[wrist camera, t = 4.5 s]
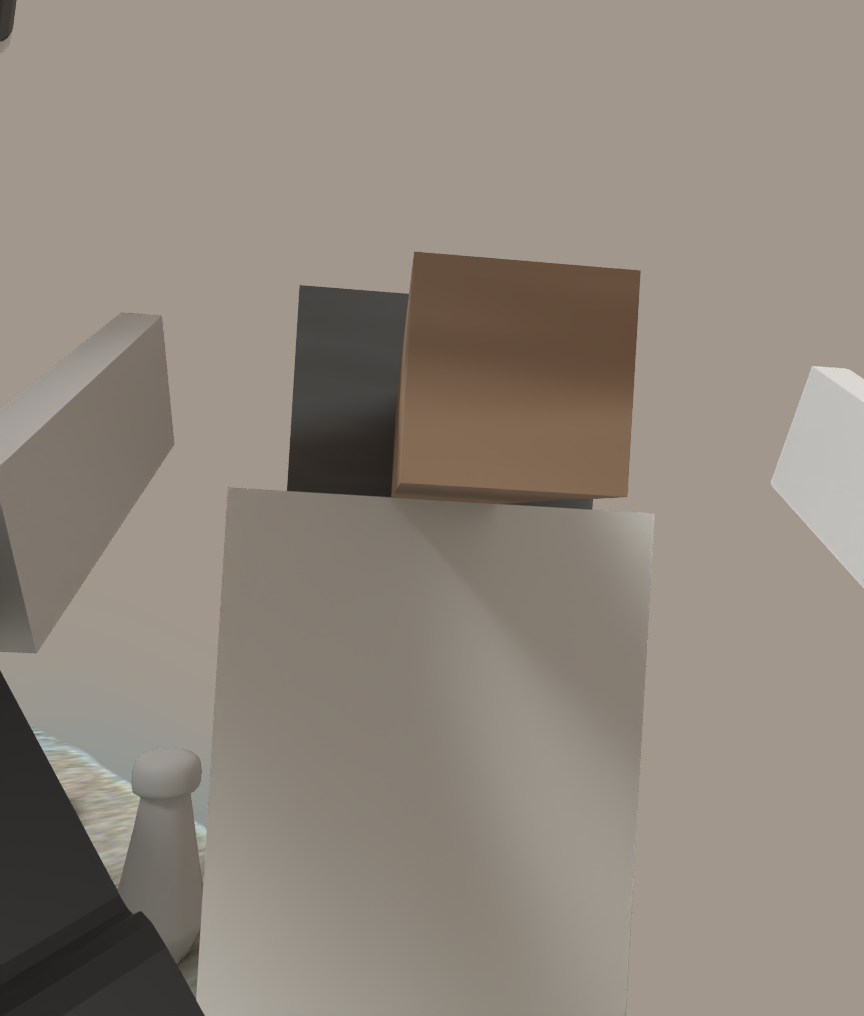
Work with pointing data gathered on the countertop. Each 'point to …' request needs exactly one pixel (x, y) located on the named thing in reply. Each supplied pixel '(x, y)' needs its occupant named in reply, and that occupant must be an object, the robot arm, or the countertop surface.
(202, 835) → the countertop surface
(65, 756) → the countertop surface
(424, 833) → the pedestal
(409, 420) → the panel with wooden post
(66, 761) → the countertop surface
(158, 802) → the salt shaker
